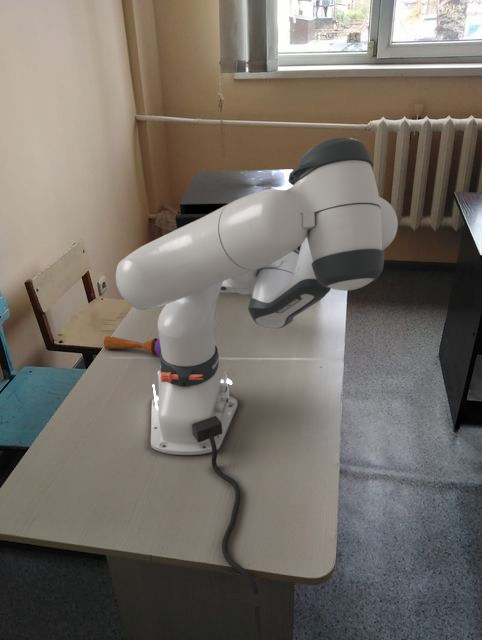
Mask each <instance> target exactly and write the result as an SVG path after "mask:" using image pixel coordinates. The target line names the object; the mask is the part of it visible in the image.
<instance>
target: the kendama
mask: <svg viewBox="0 0 482 640" xmlns="http://www.w3.org/2000/svg"><path fill="white" fill-rule="evenodd" d="M103 347H104V348H105V349H106V350H118V349H119V350H120V349H144V350H145V351H147V352H149V353H150V354H151V355H154V356H156V355H157V357H158V358H160V351H161V347H160V340H159V338H157V337H154V338H152V339H150V340H147V341H145V342H139V341H135V340H129V339H124V338H119V337H114V336H110V335H106V337H104V340H103Z"/></svg>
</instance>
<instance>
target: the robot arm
mask: <svg viewBox="0 0 482 640" xmlns="http://www.w3.org/2000/svg"><path fill="white" fill-rule="evenodd" d="M291 170H292V171H291V172H290V174H289V177H288V182H289V184H291V185H293V186H292V187H290V188H273V189H268V190H263V191H260V192H256V193H253V194H250V195H247V196H244V197H242V198H239V199H237V200H235V201H233V202H231V203H229V204H227V205H225V206H223V207H221V208H220V209H218V210H216V211H214V212H212V213H210V214H208V215H206V216H204V217H202V218H200V219H198V220H196V221H194V222H192V223H189V224H187V225H185V226H183V227H181V228H179V229H177V228H176V229H174V230H172V231H171V232H169V233H166V234H165V235H163V236H160V237H158V238H156V239H154V240H152V241H150V242H148V243H146V244H144V245H141V246H140V247H138V248H137V249H135V250H134V251H132V252H131V253H129V254H128V255H127V256H125V257H124V258H123V259H121V260H120V261H119V262H118V264H117V266H116V270H115V283H116V287H117V290H118V292H119V295H120V297H122V299H123V300H124V301H125V302H126V303H127V304H128V305H130V306H131V307H132V308H134V309H136V310H139V311H148V310H151V309H155V308H159V307H162V306H164V307H163V308H162V309H161V311H160V313H159V315H158V318H157V323H156V324H157V325H156V326H157V333H158V339H159V340H160V347H161V351H160V357H159V367H160V368H159V370H158V371H157V378H158V394H156V388H155V384H152V388H153V397H154V398H153V399H152V400H151V413H150V415H151V416H150V419H151V420H150V447H151V448H152V450H155V451H157V452H159V453H162V454H167V455H173V456H174V455H175V456H198V455H199V456H200V455H205V454H209V453H211V466H212V469H213V471H214V473H215V474H216V475H217V476H218V477H220V478H221V479H223V480H225V481H226V482H227V483H230V485H231V486H232V487H233V489H234V496H235V497H234V503H233V507H232V512H231V516H230V521H229V522H228V523H229V524H228V526H227V528H226V530H225V532H224V535H223V538H222V542H221V551H222V555H223V558H224V560H225V561H226V562H227V564H228V565H229V566H230V567H232V568H233V569H234V570H235V571H237V572H238V573H239V574H240V575H241V576H242V577H243V578H244V579H245V580H246V581H247V583H248V584H249V586H250V589H251V591H252V593H253V595H258V594H259V592H260V591H259V588H258V586H257V584H256V582H255V579H254V578H253V577H252V575H251V574H250V572H249V571H248V570H247V569H245V568H244V567H243V566H242V565H240V564H238V562H236V561H235V560H234V559H233V558H232V557H231V555H230V552H229V548H228V546H229V545H228V544H229V540H230V537H231V534H232V532H233V529H234V527H235V525H236V522H237V516H238V511H239V508H240V503H241V491H240V487H239V485H238V483H237V482H236V480H234V479H233V478H232V477H230V476H228V475H227V474H225V473H224V472H222V470H220V468H219V466H218V464H217V458H218V450H219V449H220V448H221V447H222V444H223V442H224V439H225V436H226V435H227V432H228V430H229V427H230V425H231V423H232V420H233V418H234V415H235V413H236V410H237V409H238V404H239V403H238V400H237V399H236V398H234V397H232V396H230V389H229V385H233V381H232V380H231V379H229V378H228V374H227V372H226V370H224V369H223V368H222V367H221V366H220V365H219V364H220V361H219V360H220V355H219V350H218V347H217V345H216V338H215V313H216V307H217V303H218V299H219V295H220V294H239V295H243V296H251V298H250V300H249V304H248V308H247V311H248V313H249V316H250V317H251V318H252V320H253V322H255V324H257V325H259V326H261V327H263V328H269V329H281V328H284V327H287V325H289V324H291V323H292V322H293V321H294V318H296V316H299V314H301V313H303V312H304V311H305V310H308V309H309V308H310V307H312V306H314V305H316V304H317V303H318V302H320V301H321V300H322V299H324V297H326V295H327V294H328V293H329V292H330V291H331V290H336V291H344V292H345V291H346V292H347V291H354V290H358V289H361V288H363V287H365V286H367V285H369V284H370V283H373V282H375V281H377V279H379V277H380V276H381V274H382V272H383V271H384V265H385V254H386V252H385V250H386V249H387V248H388V247H389V246H391V244H392V243H393V242H394V240H395V238H396V235H397V233H398V228H399V226H398V224H399V222H398V217H397V214H396V210H395V209H394V207H393V206H392V205H391V203H390V202H389V201H388V200H386V199H384V198H382V197H381V196H380V195H379V189H378V185H377V181H376V178H375V173H374V171H373V170H374V162H373V159H372V156H371V153H370V151H369V148H368V147H367V144H366V143H364V142H363V141H361V140H359V139H356V138H353V137H336V138H332V139H327V140H324V141H322V142H319V143H317V144H315V145H314V146H312V147H311V148H310V149H309V150H308V151H307V152H306V153H304V155H303V156H302V157H301V158H300V160H299V161H298V164H297V166H296V167H295V168H293V169H291ZM300 245H301V248H300V251H299V250H298V249H297V248H298V247H299V246H300ZM253 612H254V624H255V634H256V635H255V636H256V640H263V639H264V638H263V629H262V627H263V626H262V619H261V617H262V616H261V606H254V611H253Z"/></svg>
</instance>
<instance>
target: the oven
mask: <svg viewBox="0 0 482 640" xmlns="http://www.w3.org/2000/svg"><path fill="white" fill-rule="evenodd" d="M292 170H293V169H263V170H262V169H261V170H260V169H259V170H257V169H256V170H223V171H222V170H221V171H219V170H218V171H217V170H216V171H195V173H194V174H193V177H192V179H191V181H190V183H189V184H188V187H187V189H186V191H185V193H184V194H183V196H182V198H181V201H180V203H179V211H180V214H210V213H212V212H214V211H216V210H218V209H220V208H221V207H223V206H225V205H227V204H229V203H231V202H233V201H235V200H237V199H239V198H242V197H244V196H247V195H250V194H253V193H256V192H260V191H263V190H268V189H273V188H290V187H292V186H293V185H291V184H289V182H288V177H289V174H290V172H291V171H292Z"/></svg>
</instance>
